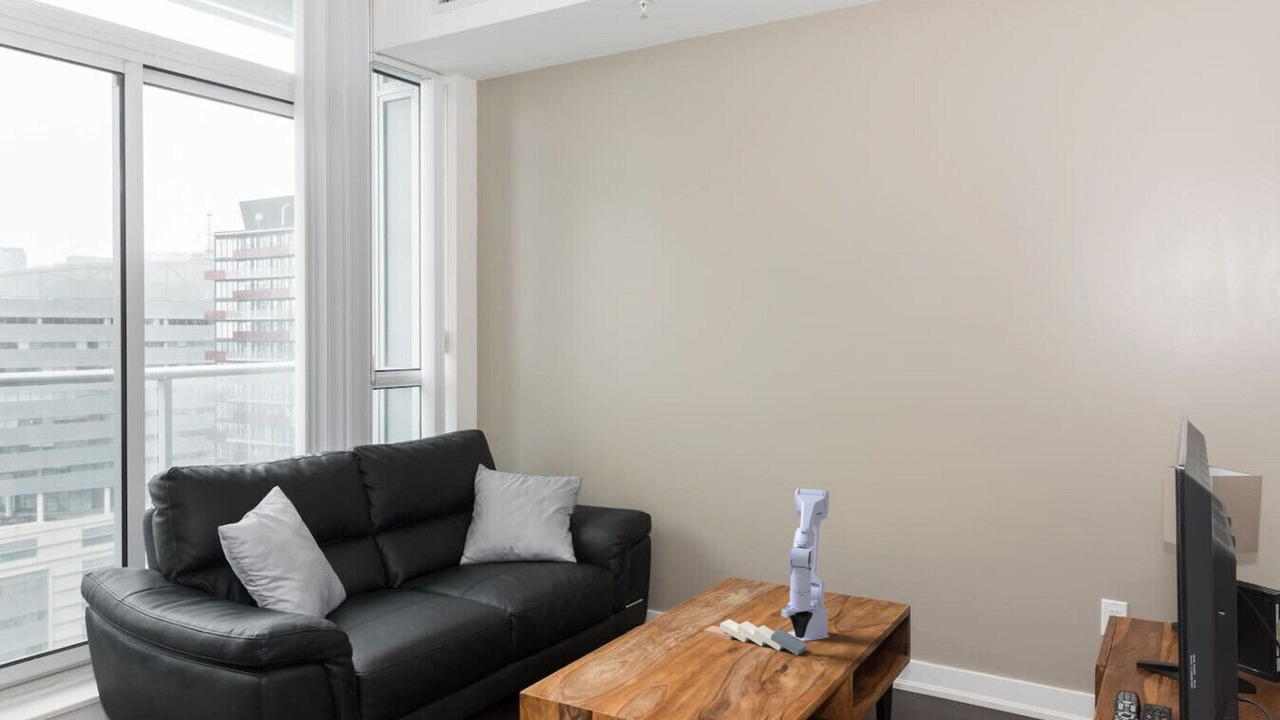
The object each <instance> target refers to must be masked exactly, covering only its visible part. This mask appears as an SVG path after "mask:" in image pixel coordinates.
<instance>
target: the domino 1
mask: <svg viewBox="0 0 1280 720" xmlns="http://www.w3.org/2000/svg"><path fill="white" fill-rule="evenodd" d="M719 627H720V626H717V625H711V626H709V627H707V628H706V629H704V632H703V633H705V634H704V635H707V634H709V635H708V636H712V637H716V638H720V639H724V640H727V641H728V640H729V641H731V640H733V639H736V638H735V637H733V636H732V635H730V634H728V633H726V632H724V631H723V630H721V629H719Z"/></svg>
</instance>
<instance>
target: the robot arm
mask: <svg viewBox="0 0 1280 720" xmlns="http://www.w3.org/2000/svg"><path fill="white" fill-rule="evenodd" d="M829 504H830V493H829V491H828V489H812V488H811V489H810V488H800V487H797V488H796V489H795V493H794V506H795V511H796V514H797V516H798V517H800V524H799V525H800V526H799V527H798V528H796V530H795V532H794V538H793V544H792V548H790V549H789V554H788V565H789V574H790V589H789V602H787V605H786V606H785V607H784V608H782V609H781V613H780V614H781V617H783V618H785V619H788V618H789V619H790V621H791V623H792V626H793V630H792V631H788V634H789V635H791V636H793V637H794V638H796V639H798V640H799V641H801V642H810V641H815V640H822V639H827V638H829V637H830V636H829V634H828V623H829V622H828V621H829V617H828V611H827V609H826V607H825V606H824V604H825V595H826V594H825V592H826V591H825V582H824V579H822V578H821V577H820V576H818V574H817V564H818V552H819V551H818V550H819V536H820V535H819V534H820V532H819V531H820V526H821V523H822V521H823V520H825V519H827V518H828V514H829Z"/></svg>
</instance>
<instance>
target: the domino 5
mask: <svg viewBox="0 0 1280 720" xmlns="http://www.w3.org/2000/svg"><path fill="white" fill-rule="evenodd" d="M774 632H775V633H773V634H772V636H771V640H773V641H774V642H776V643H777V644H779V645H781V646H782V647H784V648H783V649H786V650H787V651H788V652H791V653H792V654H794V655H796V656H799V655H800V654H802V653H803V652H805V651H806V650H807V647H808V645H807V644H806V643H805V642H804V641H801V640H799V639H798V638H796V637H794V636H792V635H790V634H788V633H787V632H786V631H785V630H783V629H782V628H781V629H778V630H776V631H774Z"/></svg>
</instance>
